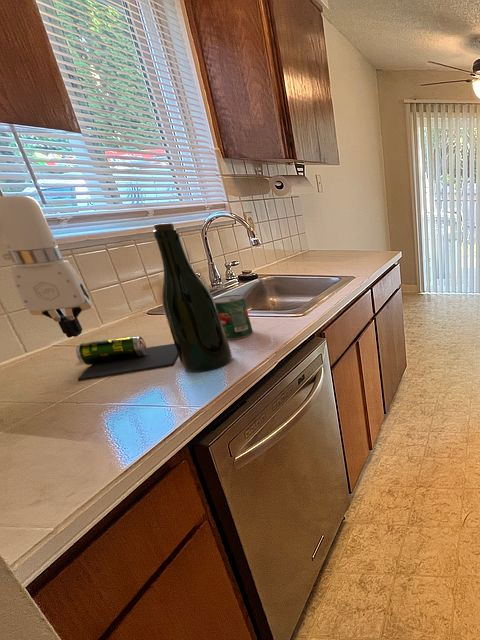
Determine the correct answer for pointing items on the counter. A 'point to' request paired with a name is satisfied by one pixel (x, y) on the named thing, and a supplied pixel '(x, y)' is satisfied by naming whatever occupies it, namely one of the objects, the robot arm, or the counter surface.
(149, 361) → the rubber mat
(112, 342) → the beer can
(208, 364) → the green wine bottle
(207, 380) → the counter surface
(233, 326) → the canned tomato
